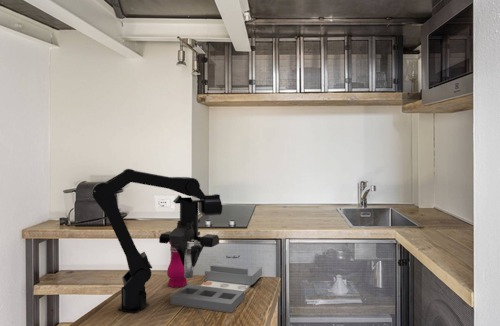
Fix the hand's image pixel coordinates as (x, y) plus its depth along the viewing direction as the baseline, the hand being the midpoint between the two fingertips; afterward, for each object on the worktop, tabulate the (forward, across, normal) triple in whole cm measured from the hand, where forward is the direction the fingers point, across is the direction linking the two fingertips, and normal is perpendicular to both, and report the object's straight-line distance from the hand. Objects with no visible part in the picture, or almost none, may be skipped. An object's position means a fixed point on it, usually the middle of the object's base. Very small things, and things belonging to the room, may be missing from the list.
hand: (189, 266), depth 114 cm
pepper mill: (+11, -10, +11) cm, 18 cm away
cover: (+10, +7, +22) cm, 25 cm away
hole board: (+10, +7, 0) cm, 12 cm away
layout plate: (+10, +7, +13) cm, 18 cm away
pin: (+3, 0, 0) cm, 3 cm away
